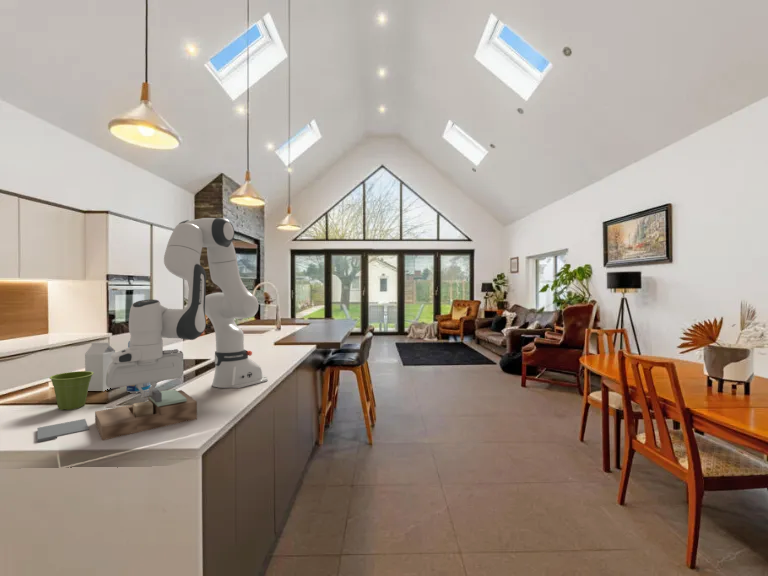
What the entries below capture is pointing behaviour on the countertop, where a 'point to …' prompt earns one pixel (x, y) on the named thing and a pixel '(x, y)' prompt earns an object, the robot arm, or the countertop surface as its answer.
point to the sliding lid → (167, 397)
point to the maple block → (142, 409)
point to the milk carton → (98, 365)
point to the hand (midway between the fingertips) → (146, 397)
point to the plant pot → (71, 389)
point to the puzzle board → (143, 418)
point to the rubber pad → (61, 429)
